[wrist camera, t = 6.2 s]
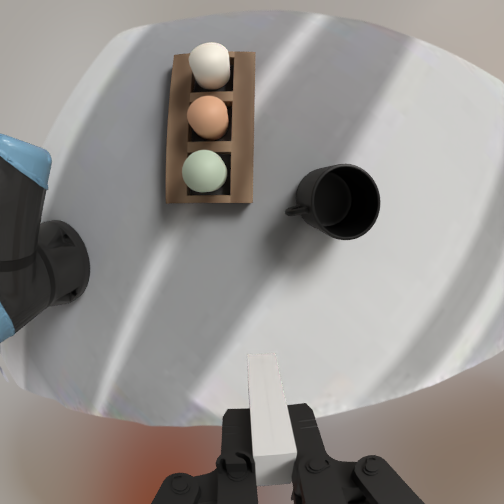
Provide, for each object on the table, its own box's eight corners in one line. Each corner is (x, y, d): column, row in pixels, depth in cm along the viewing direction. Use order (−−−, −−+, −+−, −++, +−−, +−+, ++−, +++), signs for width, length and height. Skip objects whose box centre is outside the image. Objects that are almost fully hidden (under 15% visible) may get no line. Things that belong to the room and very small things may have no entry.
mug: (272, 179, 39) (281, 176, 30) (345, 163, 39) (372, 158, 30) (287, 240, 41) (300, 254, 32) (358, 221, 41) (386, 230, 32)
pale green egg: (190, 191, 36) (181, 192, 30) (191, 156, 35) (182, 150, 29) (226, 191, 36) (224, 192, 31) (227, 155, 35) (225, 149, 29)
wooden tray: (171, 202, 39) (165, 203, 36) (178, 62, 34) (174, 54, 31) (251, 201, 39) (252, 203, 36) (254, 60, 34) (255, 52, 31)
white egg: (194, 90, 33) (187, 75, 27) (196, 62, 32) (190, 43, 26) (229, 89, 33) (228, 73, 27) (230, 61, 32) (229, 41, 26)
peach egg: (193, 141, 36) (186, 133, 30) (195, 109, 35) (188, 96, 29) (228, 140, 36) (226, 132, 31) (229, 108, 35) (227, 95, 29)
